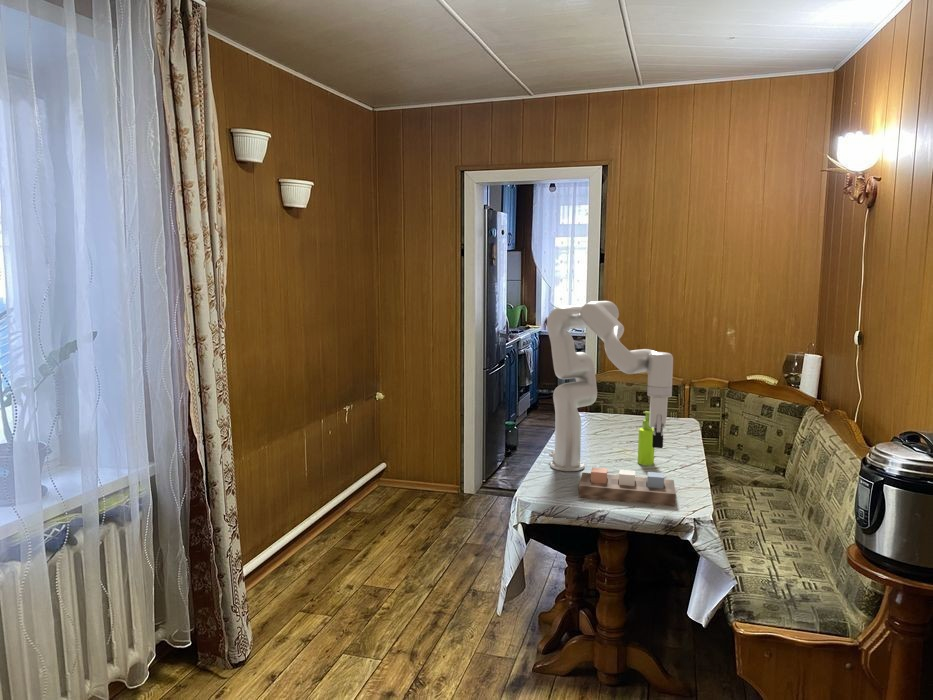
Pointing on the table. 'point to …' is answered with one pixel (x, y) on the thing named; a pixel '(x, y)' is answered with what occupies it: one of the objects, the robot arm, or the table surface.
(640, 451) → the soap dispenser
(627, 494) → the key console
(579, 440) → the robot arm
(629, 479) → the ivory key
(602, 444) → the table surface
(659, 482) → the slate key
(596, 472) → the terracotta key
